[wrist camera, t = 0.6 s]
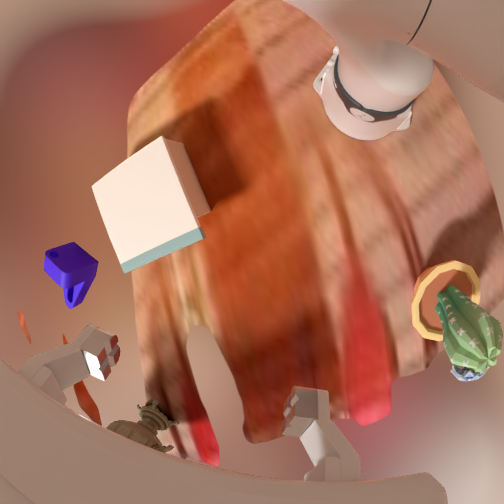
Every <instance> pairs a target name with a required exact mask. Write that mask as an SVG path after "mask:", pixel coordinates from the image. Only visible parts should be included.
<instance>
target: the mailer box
mask: <svg viewBox="0 0 504 504" xmlns="http://www.w3.org/2000/svg"><path fill="white" fill-rule="evenodd" d="M166 142H167V144H168V147H169V150H170V152H171V155H172V157H173V160H174V162H175V165H176V167H177V170H178V173H179V175H180V178H181V180H182V183H183V185H184V187H185V190H186V192H187V195H188V197H189V200H190V202H191V205H192V207H193V209H194V212H195V214H196V217H197V218H198V217H200V216H203V215H205V214H207V213H209V212H211V210H210V207H209V205H208V203H207V200H206V198H205V195H204V193H203V191H202V188H201V186H200V183H199V181H198V178H197V176H196V174H195V171H194V169H193V166H192V164H191V161H190V159H189V156H188V154H187V151H186V149H185V146H184V144H183V143H181V142H177V141H173V140H169V139H166Z"/></svg>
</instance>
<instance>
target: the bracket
mask: <svg viewBox="0 0 504 504" xmlns="http://www.w3.org/2000/svg"><path fill="white" fill-rule="evenodd" d="M97 267H98V261H97V260H96V259H95V258H93V257H92V256H91V255H89V254H88V253H87V252H86V251H84V250H83V249H82V248H81V247H80V246H78V245H77V244H76V243H75V242H71V243H68V244H65V245H62V246H59V247H56V248H53V249H50V250H47V251H46V252H45V262H44V270H45V272H46V273H47V274H48V275H49V276H50V277H51V278H52V279H53V280H54V281H55V282H56V283H57V284H58V285H59V286H60V287H62V288H64V296H65V302H66V305H67V306H68V307H69V308H70V309H72V308H74V307H75V306H77V305H79V304H81V303H82V302H83V300H84V298H85V296H86V294H87V292H88V290H89V288H90V286H91V284H92V282H93V280H94V278H95V276H96V272H97Z"/></svg>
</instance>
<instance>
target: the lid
mask: <svg viewBox="0 0 504 504" xmlns="http://www.w3.org/2000/svg"><path fill="white" fill-rule="evenodd" d="M92 189H93V192H94V195H95V198H96V201H97V204H98V207H99V210H100V213H101V216H102V219H103V221H104V224H105V226H106V229H107V232H108V234H109V237H110V239H111V242H112V244H113V247H114V250H115V252H116V254H117V257H118V259H119V262H120V264H121V267H122V269H123V272H124V273H127V272H129V271H131V270H134V269H136V268H138V267H140V266H143V265H145V264H147V263H149V262H151V261H154V260H156V259H158V258H160V257H163V256H165V255H167V254H170V253H172V252H174V251H176V250H179V249H181V248H183V247H186V246H188V245H190V244H193V243H195V242H197V241H200V240H202V239H204V238H206V237H205V234H204V232H203V230H202V227H201V226H200V224H199V221H198V219H197V217H196V214H195V212H194V209H193V207H192V205H191V202H190V200H189V197H188V195H187V192H186V190H185V187H184V185H183V183H182V180H181V178H180V175H179V173H178V170H177V167H176V165H175V162H174V160H173V157H172V155H171V152H170V150H169V147H168V144H167V142H166V139H165V137H164V136H160V137H159V138H157V139H156V140H154V141H153V142H151V143H149V144H148V145H146V146H145V147H144V148H142V149H141V150H139V151H138V152H136V153H135V154H133V155H132V156H131V157H129V158H128V159H126V160H125V161H124V162H122V163H121V164H120V165H118V166H117V167H116V168H114V169H113V170H112V171H110V172H109V173H108V174H106V175H105V176H104V177H103V178H101V179H100V180H99V181H98V182H96V183H95V184H94V185H93V186H92Z"/></svg>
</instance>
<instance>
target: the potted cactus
mask: <svg viewBox="0 0 504 504" xmlns="http://www.w3.org/2000/svg"><path fill="white" fill-rule="evenodd" d="M414 291H415V292H414V295H413V298H412V300H411V309H412V322H413V325H414V327H415V328H416V329H417V331H418V332H419V333H420V334H421V336H422V337H423V338H427V339H431V340H436V341H441V340H443V345H444V348H445V350H446V352H447V354H448V356H449V358H450V360H451V363H453V364H456V365H459V366H464V369H462V370H461V369H460V368H458V367H457V366H455V365H453V366H452V368H453V370H454V371H453V370H450V371H451V372H452V373H453V374H454V376H455V377H456V378H457V379H458V380H461V381H473V380H477V379H478V378H481V377H482V376H483V375H484V374H485V373H486V372H487V370H488V369H489V366H488V367H487V365H488V364H490V365H495V364H496V363H497V360H496V355H498V354H500V353H501V346H502V338H503V334H502V328H501V323H500V322H499V321H498V320H496V319H495V318H494V317H493V316H491V315H490V314H489V313H488V312H486V311H485V310H484V309H482V308H481V307H480V306H479V302H480V280H479V278H478V276H477V275H476V273H475V271H474V269H473V267H472V266H469V265H467V264H464V263H461V262H459V261H456V260H451V261H448V262H445V263H441V264H438V265H435V266H433V267H430V268H427V269H426V270H425V271H424V272H423V273H422V274H421V275H420V276H419V277H418V279H417V282H416V284H415V287H414Z"/></svg>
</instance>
